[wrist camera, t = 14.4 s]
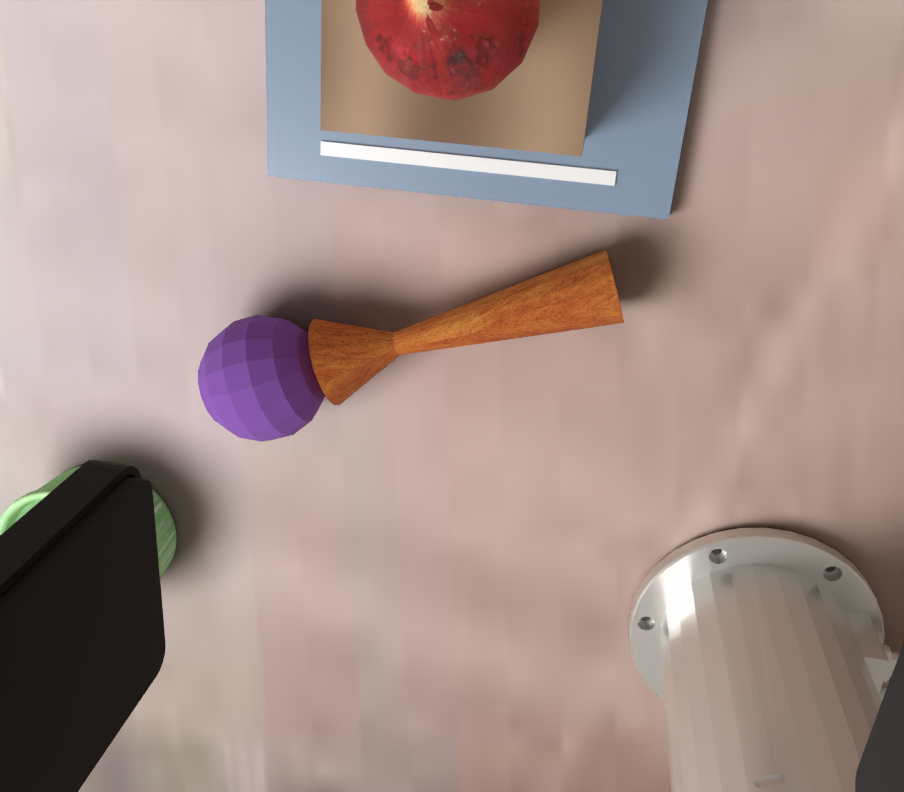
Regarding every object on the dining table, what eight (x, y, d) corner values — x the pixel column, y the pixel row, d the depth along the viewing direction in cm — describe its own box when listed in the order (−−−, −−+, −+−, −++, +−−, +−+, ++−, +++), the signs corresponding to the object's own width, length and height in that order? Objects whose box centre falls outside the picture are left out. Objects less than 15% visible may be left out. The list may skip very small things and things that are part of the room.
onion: (566, 62, 31) (553, 77, 23) (415, 109, 32) (359, 137, 25) (523, -118, 29) (494, -161, 21) (364, -58, 30) (287, -80, 23)
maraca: (637, 376, 37) (218, 477, 41) (619, 312, 42) (247, 408, 46) (609, 253, 34) (159, 375, 38) (593, 200, 39) (197, 312, 43)
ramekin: (26, 448, 49) (-25, 487, 45) (175, 458, 48) (136, 498, 44) (58, 579, 53) (13, 625, 49) (197, 592, 51) (163, 640, 47)
